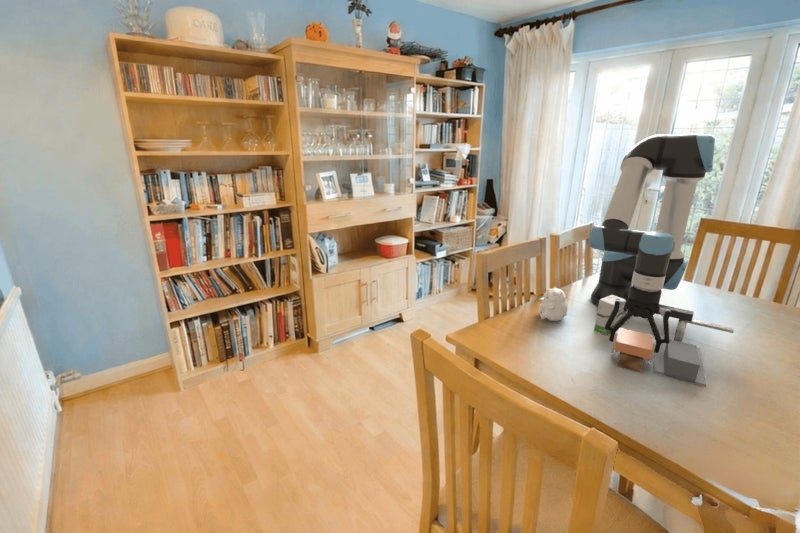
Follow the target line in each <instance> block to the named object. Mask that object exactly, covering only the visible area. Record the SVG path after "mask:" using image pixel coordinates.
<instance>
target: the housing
mask: <svg viewBox="0 0 800 533" xmlns="http://www.w3.org/2000/svg"><path fill="white" fill-rule="evenodd" d="M653 339H655V337H653ZM701 352H702V351H701V348H700V347H698V346H697V344H693V343H688V342H684V341H682V342H680V341H675V340H674V339H670V338H669V343H668V344H666V343H662V344H661V345H660V349H659V352H658V353H655V352H654V354H653V360H652V361H653V367H652V373H653V374H657V375H660V376H663V377H667V378H671V379H674V380H679V381H682V382H685V383H689V384H693V385H696V386H699V387H700V386H701V387H704V388H707V386H708V385H707V381H706V375H705V374H706V373H705V368H704V362H703V356H702V353H701Z"/></svg>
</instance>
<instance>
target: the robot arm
mask: <svg viewBox="0 0 800 533" xmlns="http://www.w3.org/2000/svg"><path fill="white" fill-rule="evenodd" d="M715 140H716V138H715V136H714V135H713V134H707V133H706V134H703V133H683V134H681V133H680V134H679V133H675V134H671V133H670V134H669V133H668V134H664V133H662V134H661V133H660V134H659V133H658V134H653V135H651V136H648V137H646V138H644V139H642V140H641V141H639V142H637V143H636V144H635V145H634V146H632V148H631V149H629V150H628V151H627V153H626V155H625V156H624V157H623V159H622V162H621V164H620V167H619V169H620V171H621V173H620V175H619V178H618V180H617V183H616V186H615V189H614V192H613V194H612V197H611V200H610V203H609V204H608V207H607V210H606V213H605V216H604V218H603V221H602V224H600V225H597V224H596V225H594V226H593V227H592V228H591V230H590V233H589V236H588V237H589V238H588V245H589V248H591V249H595V250H598V251H603V252H604V253H603V255H602V256H603V257H602V258H601V267H600V270H599V271H600V273H599V277H598V283H597V284H596V286H595V287H594V289H593V291H592V293H591V295H590V302H592V304H594V305H596V306H597V307H598V305H599V300H600V299H602V298H605V297H607V296H610V295H615V296H617V297H620V298H623V299H625V301H624V300H620V299H616V300H615V307H614V309H613V311H612V313H611V315H610V317H609V318H608V320H607V322H606V325H605V329H606V330H609V331H610V332H611V333H610V335H609V339H608V340H609V342H610V343H612V345H611V351H610V353H611V354H614V353H615V351H614V349H615V344H616V339H617V335H618V331H617V330H618V329H619V328H622V326H623V325H624V324H626V322H627V321H628V320H629V319H631V318H632V317H634V318H641V319H645V320H647V321H648V323H649V327H650V329H651V332H652V335H653V350H652V354H651V358H650V360H649V359H647V361H648V364H652V361H653V359H654V352H655V353H658V352H659V349H660V345H661V344H662V343H666V344H668V343H669V339H670V326H669V325H670V324H669V318H671V317H670V314H671V310H670V309H669V308H666V309H664V308H661V307H660V306H659V304H660V301H661V297H662V292H663V291H662V289H663V290H667V291H668V290H670V291H674V290H676V289H677V288H678V287H679V285H680V283H681V281H682V278H683V275H684V274H685V271H686V269H687V266H688V264H689V261H688V260H687V259H685V253H684V252H683V251H682V250H681V249H682V245H683V241H684V238H685V233H686V229H687V226H688V221H689V218H690V213H691V209H692V205H693V203H694V202H693V201H694V197H695V193H696V189H697V185H698V183H699V182H700V181H701V180H704V178H705V177H706V173H710V172H712V170H713V163H714V155H715V153H714V152H715V143H716V141H715ZM653 170H655V171H662V175H661V176H662V177H663V179H664V180H665V186H664V190H663V194H662V198H661V204H660V208H659V214H658V217H657V221H656V226H655V231H646V230H645V231H644V230H636V229H630V226H631V222H632V220H633V217H634V214H635V212H636V208H637V205H638V202H639V199H640V196H641V193H642V191H643V188H644V185H645V182H646V178H647V176H649V175H651V173H652V172H653ZM623 305H624V310H623V312H624V311H626V312H625V313H623V315H622V317H621V318H620V319H619V320H618V321H617V322H616V323H615V324H614V325H613V326H611V324H612V322H613V320H614V318H615V316H616V314H617V313H618V310H619V308H622V306H623ZM657 312H660V313H661V315H660V316H661V317H662V324H663V325H662V326H663V327H662V328H663V336H661V334H660V331H659V329H658V326H657V323H656V321H655V318H654V317H655V316H654V315H655V314H656V313H657ZM656 315H657V314H656ZM654 338H655V339H654Z"/></svg>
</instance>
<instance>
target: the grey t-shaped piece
mask: <svg viewBox="0 0 800 533" xmlns="http://www.w3.org/2000/svg"><path fill="white" fill-rule="evenodd" d="M659 306H660V307H661V308H664V309H666V308H669V309H670V310H671V314H670V317H669V318H672V319H673V318H674V319H678V321H677V325H676V329H675V333H674V336H673V340H675V341H680V342H683V339H684V335H685V333H686V332H685V331H686V328H687V324H691V325H696V326H700V327H704V328H709V329H713V330H717V331H721V332H726V333H731V334H733V333H734V331H735V330H734V327H729V326H725V325H721V324H716V323H710V322H707V321H703V320H699V319H695V318H694V310H693V311H692V310H689V309H683V308H679V307H673V306H671V305H670V306H669V305H666V304H660V303H659ZM656 315H660V316H661V313H660V312H657V313H656Z"/></svg>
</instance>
